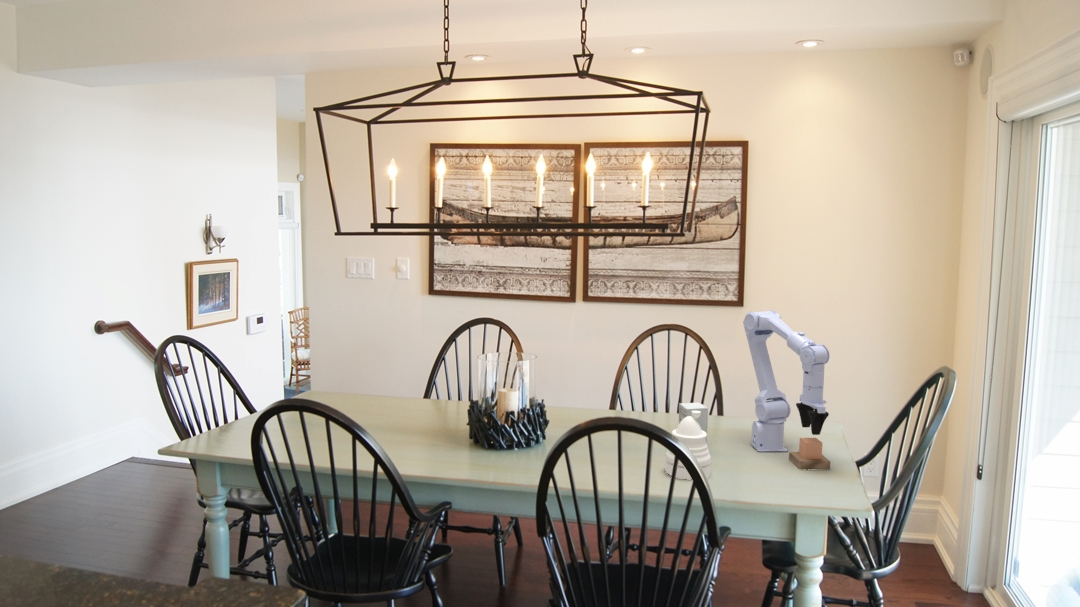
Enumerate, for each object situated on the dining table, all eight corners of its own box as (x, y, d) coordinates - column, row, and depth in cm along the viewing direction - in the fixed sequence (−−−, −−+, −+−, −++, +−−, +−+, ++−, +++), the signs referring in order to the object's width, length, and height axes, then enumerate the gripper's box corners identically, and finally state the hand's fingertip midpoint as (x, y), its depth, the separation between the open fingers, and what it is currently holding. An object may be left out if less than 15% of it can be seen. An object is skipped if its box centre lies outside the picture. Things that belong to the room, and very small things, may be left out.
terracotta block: (804, 459, 225) (805, 442, 225) (798, 453, 230) (799, 437, 230) (821, 459, 225) (822, 442, 225) (815, 453, 230) (816, 437, 230)
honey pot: (701, 464, 228) (703, 405, 226) (717, 479, 215) (719, 417, 213) (659, 466, 226) (661, 406, 224) (673, 481, 213) (675, 418, 211)
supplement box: (698, 439, 253) (699, 401, 251) (707, 445, 246) (708, 407, 244) (677, 440, 252) (678, 402, 250) (685, 447, 244) (686, 408, 243)
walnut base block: (799, 471, 223) (800, 461, 223) (788, 461, 232) (789, 451, 232) (829, 471, 224) (830, 461, 223) (817, 461, 233) (818, 451, 232)
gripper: (836, 391, 218) (834, 437, 220) (816, 380, 232) (814, 423, 234) (812, 391, 218) (810, 438, 219) (793, 380, 232) (791, 423, 234)
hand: (810, 430), depth 227 cm, fingers open, 7 cm apart
